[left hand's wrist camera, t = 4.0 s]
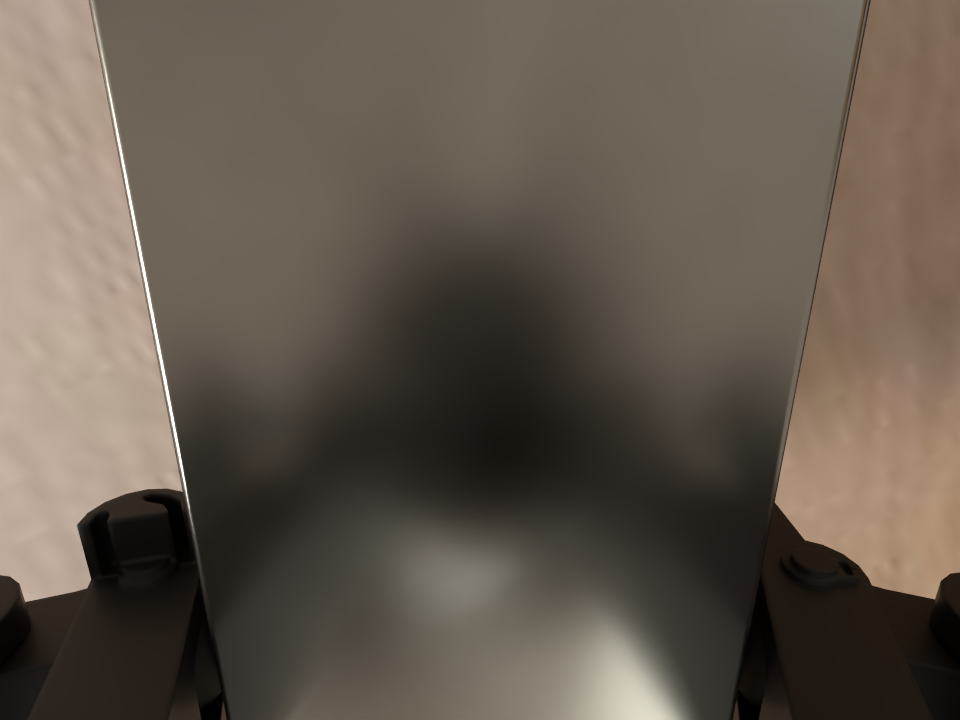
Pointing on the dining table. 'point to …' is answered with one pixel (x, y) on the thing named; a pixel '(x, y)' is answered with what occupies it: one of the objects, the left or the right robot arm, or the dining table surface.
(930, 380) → the dining table surface
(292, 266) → the bar
